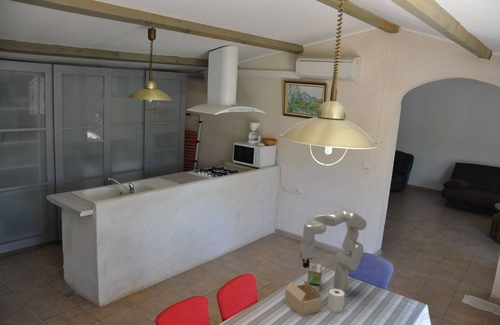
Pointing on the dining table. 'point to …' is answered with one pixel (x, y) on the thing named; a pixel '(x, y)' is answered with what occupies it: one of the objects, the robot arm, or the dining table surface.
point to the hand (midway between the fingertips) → (305, 267)
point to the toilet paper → (336, 300)
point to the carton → (304, 301)
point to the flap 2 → (311, 287)
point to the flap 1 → (296, 291)
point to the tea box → (314, 275)
